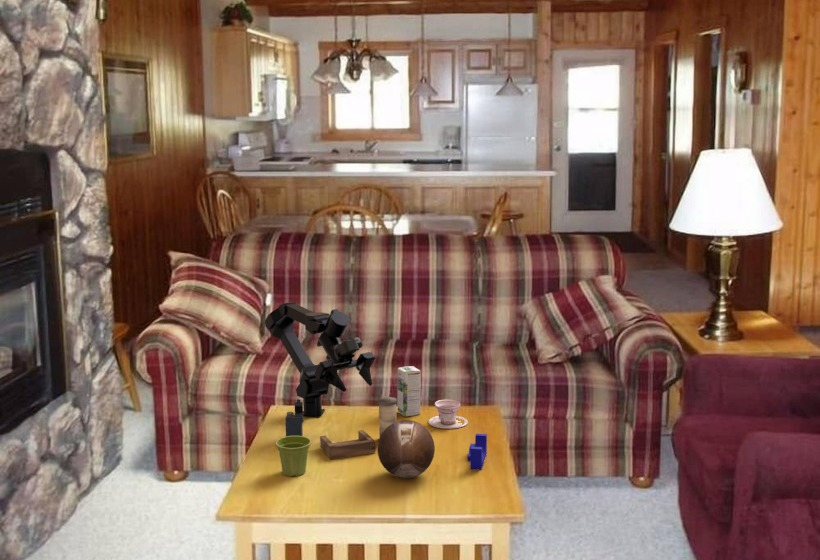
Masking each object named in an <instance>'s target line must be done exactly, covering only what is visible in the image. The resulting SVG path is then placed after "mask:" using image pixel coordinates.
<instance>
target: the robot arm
mask: <svg viewBox="0 0 820 560" xmlns="http://www.w3.org/2000/svg"><path fill="white" fill-rule="evenodd" d="M295 322H298V323H300V324H302V325H303V326H305V328H304V329H305V330H306V331H307V332H308V333H309V334H311V335H318V334H319V337H318V338H317V342H316V346H317V347H322V349H323V350H324V352H325V354H326V360H325V361H320V362H319V363H318V364H314V363H313V362H312V360H311V357H309V355H308V353H307V351H306V350H305V347H303V345H302V343H301V342H300V339H299V338H298V336H297V334H296V333H295V331H294V329H295V328H294V327H295ZM350 323H351V319H350V316H349V315H348V314H347V313H346V312H343V311H340V310H339V308H335V309H331V312H330V313H328V312H315V311H312V310H310V309H307V307H304V306H301V305H299V304H297V302H295V301H287V302H283V303H281V304H280V305H279V306H278V307H277V308H276V309H274V310H273V311H270V313H269V314H268V315H267V316H266V318H265V319H264V325H265V328H266V329H267V331H268V332H269V333H270V335H272V337H274V338H277V339H279V341H280V342H281V343H282V345H283V347H284V348H285V350H286V351H287V353H288V356H289V357H290V358H291V360H292V362H293V364H294V365H295V367H296V369H297V370H298V373H299V380H298V382H299V384H298V385H297V386H296V388H295V393H296V396H297V397H298V398H301V399H302V400H303V401H302V403H303V417H307V418H308V417H309V418H320V417H322V416H323V414H324V413H325V410H326V409H325V408H322V407H323V406H322V405H323V403H322V402H323V401H322V400H323V399H322V396H323V395H328V393H329V387H330V385H331V386H333V387H335V388H337V389H339V390H340V391H342V392H344V393H345V392H346V391H347V388H346V386H345V384H344V382H343V380H342V379H341V376H339V374H338V371H342V370H347V369H351V368H352V369H353V368H356V370H357V371H358V374H359V376H361V378H362V379H363V381H365V382H366V384H368V385H369V387H372V386H373V380H372V374H371V367H372V365H373V363H374V361H375V360H376V356H375V355H374V353H373V352H371V351H370V352H369V351H368V352H364V353H360V354H359V355H358V357H357V359H354V358H355V356H356V353H355V352H357V351H360V349H361V348H363V346H364V345H363V342H362V341H363V340H361V339H360V337H354V338H352V339H351V340H345V341H342V340H341V337H343V336H344V334H345V332H346V330H347V328H348V327H349V325H350Z"/></svg>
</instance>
